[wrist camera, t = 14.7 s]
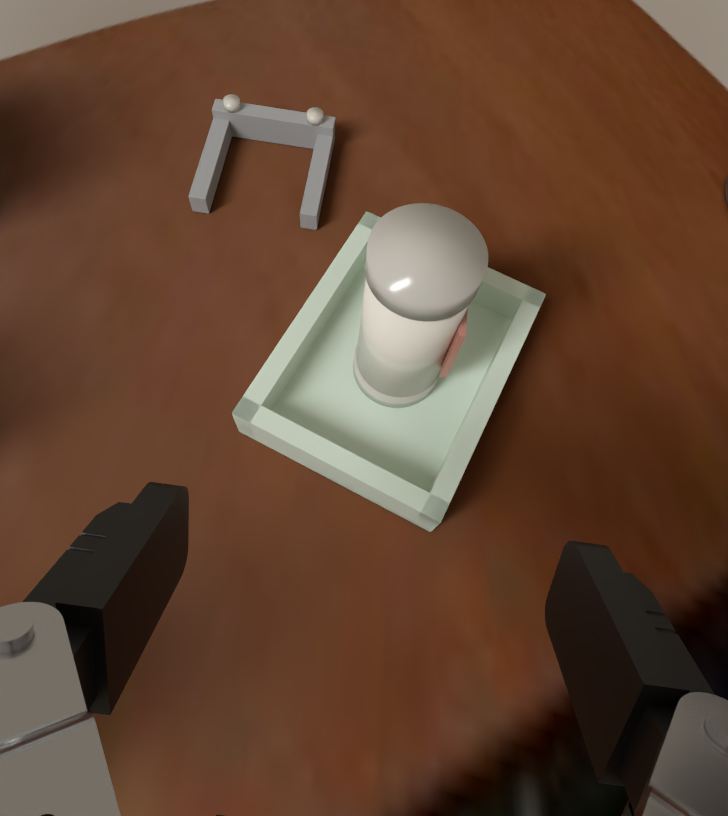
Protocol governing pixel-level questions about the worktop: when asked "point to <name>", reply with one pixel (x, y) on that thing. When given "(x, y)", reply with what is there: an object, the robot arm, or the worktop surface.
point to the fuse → (416, 301)
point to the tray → (371, 422)
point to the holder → (269, 128)
